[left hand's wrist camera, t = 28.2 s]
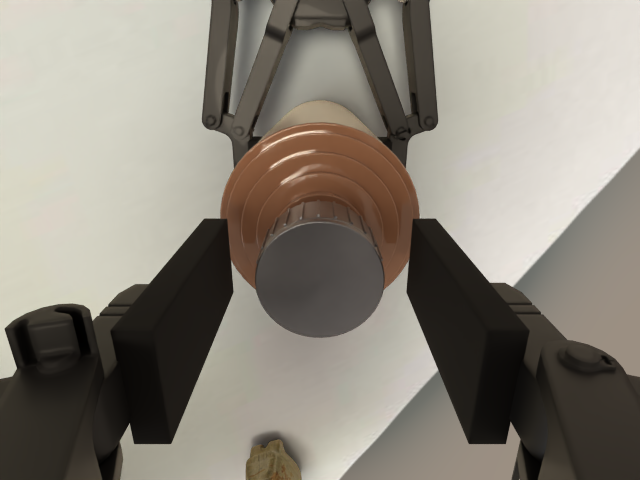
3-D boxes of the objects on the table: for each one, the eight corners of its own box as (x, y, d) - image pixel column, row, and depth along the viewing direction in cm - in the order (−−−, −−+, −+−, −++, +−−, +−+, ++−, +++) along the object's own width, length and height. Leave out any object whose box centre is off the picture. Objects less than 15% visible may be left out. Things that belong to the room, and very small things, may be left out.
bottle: (386, 134, 35) (508, 230, 12) (335, 213, 37) (358, 414, 15) (302, 80, 33) (267, 77, 11) (255, 166, 36) (145, 311, 13)
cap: (399, 262, 14) (412, 292, 12) (312, 323, 15) (310, 360, 13) (329, 174, 13) (330, 191, 11) (239, 246, 14) (225, 274, 12)
